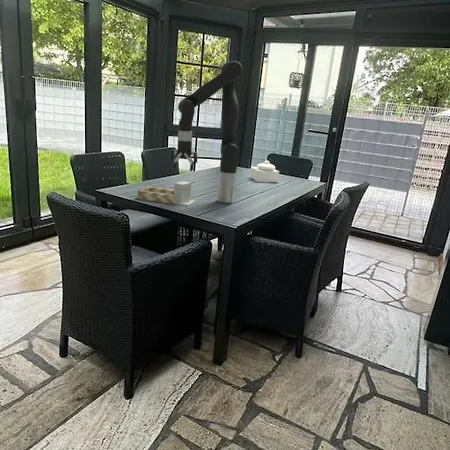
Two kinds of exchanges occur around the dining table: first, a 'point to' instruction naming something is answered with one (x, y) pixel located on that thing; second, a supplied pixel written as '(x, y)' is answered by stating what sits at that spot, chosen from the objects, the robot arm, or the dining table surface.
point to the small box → (182, 192)
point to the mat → (185, 203)
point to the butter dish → (265, 173)
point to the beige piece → (157, 194)
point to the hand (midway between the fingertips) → (183, 170)
